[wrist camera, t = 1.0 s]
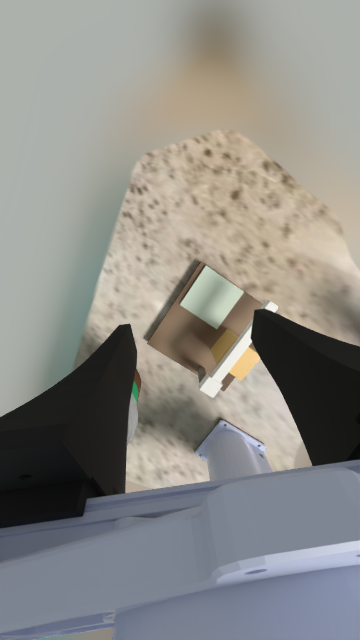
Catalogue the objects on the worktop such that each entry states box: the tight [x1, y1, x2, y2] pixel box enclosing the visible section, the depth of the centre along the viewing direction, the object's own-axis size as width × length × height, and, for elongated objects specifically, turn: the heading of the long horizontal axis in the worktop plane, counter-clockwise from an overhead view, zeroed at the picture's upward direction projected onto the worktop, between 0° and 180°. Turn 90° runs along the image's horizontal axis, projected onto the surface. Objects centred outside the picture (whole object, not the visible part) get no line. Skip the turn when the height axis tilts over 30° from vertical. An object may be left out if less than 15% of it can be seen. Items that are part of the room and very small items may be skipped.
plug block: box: [210, 328, 261, 381], centre depth 27 cm, size 4×4×5 cm
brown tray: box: [147, 262, 263, 391], centre depth 27 cm, size 14×14×6 cm
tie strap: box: [199, 300, 279, 398], centre depth 24 cm, size 2×13×1 cm, turn 147°
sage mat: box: [180, 266, 244, 329], centre depth 28 cm, size 6×6×1 cm
